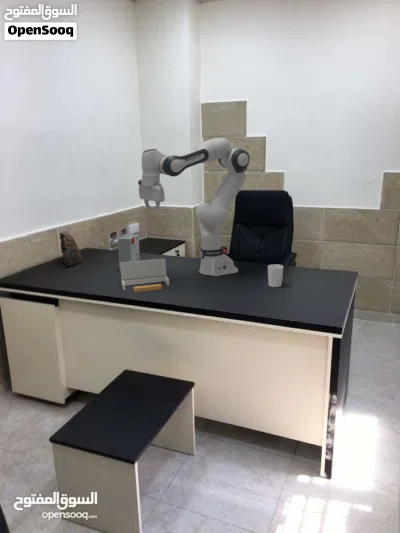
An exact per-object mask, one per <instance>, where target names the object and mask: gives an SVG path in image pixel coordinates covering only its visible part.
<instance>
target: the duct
mask: <svg viewBox="0 0 400 533" xmlns="http://www.w3.org/2000/svg"><path fill="white" fill-rule="evenodd" d="M162 281H164V283H165V284H166V285H167V286H170V279H169V277H168V276H167V275H163V276H153V277H144V278H134V279H124V280H121V286H122V290H123V291H126V287H127V286H134V285H136V286H137V285H143V284H144V285H145V284H152V283H154V284H155V283H161V282H162Z"/></svg>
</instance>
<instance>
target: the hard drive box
mask: <svg viewBox="0 0 400 533" xmlns="http://www.w3.org/2000/svg"><path fill="white" fill-rule="evenodd" d="M139 237H140V236H139V234H138V233H136V234H135V233H127V234H125V235H123V236H121V237H119V238H117V247H118V250H117V251H118V263H119V272H121V268H120V263H121V262H131V261H141V258H140V257H141V256H140V240H139V239H140V238H139Z"/></svg>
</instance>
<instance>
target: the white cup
mask: <svg viewBox="0 0 400 533" xmlns="http://www.w3.org/2000/svg"><path fill="white" fill-rule="evenodd" d="M283 277H284V265H282V264H275V263H274V264H269V265H267V280H268V286H269V287H272V288H278V287H282V284H283Z"/></svg>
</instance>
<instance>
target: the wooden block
mask: <svg viewBox="0 0 400 533" xmlns="http://www.w3.org/2000/svg"><path fill="white" fill-rule="evenodd" d="M159 289H161V290H163V287H162V284H161V283H158V284H155V283H154V284H147V285H139V286H137V285H136V286H133V292H134V293H141V292H142V293H143V292H149V291H158V290H159ZM159 291H160V290H159Z"/></svg>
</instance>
